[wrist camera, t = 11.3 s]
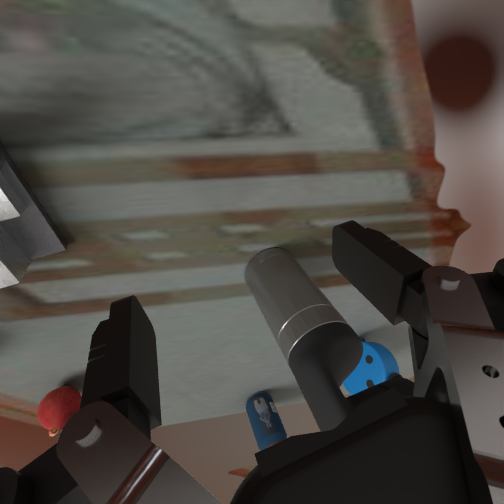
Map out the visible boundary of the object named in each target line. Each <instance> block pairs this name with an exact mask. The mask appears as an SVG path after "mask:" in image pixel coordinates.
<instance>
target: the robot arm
mask: <svg viewBox="0 0 504 504" xmlns="http://www.w3.org/2000/svg"><path fill="white" fill-rule="evenodd" d="M332 257H333V262H334V264H335V266H336V268H337V269H338V271H339V272H340V273H341V274H342V275H343V276H344V277H345V278H346V279H347V280H348V281H349V282H350V283H351V284H352V285H353V286H354V287H355V288H356V289H357V290H358V291H359V292H360V293H362V294H363V295H364V296H365V297H366V298H367V299H368V300H369V301H370V302H371V303H372V304H373V305H374V306H375V307H376V308H377V309H378V310H379V311H380V312H381V313H382V314H383V315H384V316H385V317H386V318H387V319H388V320H389V321H390V322H391V323H392V324H393V325H396V324H398V323H401V322H403V321H406V322H407V323H408V324H409V329H408V332H409V339H410V347H411V354H412V362H413V369H414V377H415V378H414V380H415V382H412V381H410V380H408V379H405V378H401V377H396V378H392V379H389V380H386V381H384V382H381V383H379V384H377V385H374V386H372V387H370V388H367V389H365V390H363V391H360V392H358V393H356V394H354V395H352V396H349V397H347V398H345V397H344V395H343V394H342V392H341V390H340V388H339V387H340V386H341V384H342V383H343V382H344V380H345V379H346V378H347V377H348V376H349V375H350V374H351V373H352V372H353V371H354V370H355V368H356V367H357V365H358V364H359V362H360V360H361V358H362V355H363V344H362V341H361V339H360V338H359V337H358V335H357V334H356V333H355V331H354V330H353V329H352V328H351V327H350V325H349V324H348V323H347V322H346V321H345V319H344V318H343V317H342V316H341V315H340V313H339V312H338V311H337V310H336V309H335V307H334V306H333V305H332V304H331V303H330V301H329V300H328V299H327V298H326V297H325V295H324V294H323V293H322V292H321V290H320V289H319V288H318V287H317V286H316V284H315V283H314V282H313V281H312V280H311V278H310V277H309V276H308V275H307V273H306V272H305V271H304V270H303V269H302V267H301V266H300V265H299V264H298V262H297V261H296V260H295V259H294V258H293V256H292V255H291V254H290V253H289V252H288V251H286V250H284V249H281V248H271V249H267V250H265V251H262V252H261V253H259V254H257V255H256V256H255V257H254V258H253V259H252V260H251V261H250V263H249V264H248V266H247V268H246V272H245V279H246V282H247V284H248V286H249V288H250V290H251V292H252V294H253V296H254V298H255V300H256V302H257V304H258V306H259V308H260V310H261V312H262V314H263V316H264V318H265V320H266V322H267V324H268V326H269V328H270V330H271V331H272V333H273V335H274V337H275V339H276V341H277V343H278V345H279V347H280V349H281V351H282V353H283V355H284V357H285V359H286V361H287V363H288V364H289V366H290V368H291V370H292V372H293V374H294V376H295V378H296V380H297V383H298V385H299V387H300V389H301V391H302V393H303V395H304V397H305V399H306V401H307V404H308V405H309V408H310V409H311V412H312V413H313V416H314V418H315V420H316V422H317V425H318V427H319V429H320V431H321V432H316V433H309V434H303V435H296V436H291V437H289V438H287V439H285V440H282V441H280V442H278V443H276V444H274V445H272V446H270V447H268V448H266V449H264V450H262V451H260V452H258V453H255V457H256V460H257V463H258V465H257V466H256V467H255V468H254V469H253V470H252V471H251V472H250V473H249V474H248V475H247V476H246V478H245V479H244V480H243V482H242V483H241V485H240V486H239V488H238V489H237V491H236V493H235V495H234V497H233V499H232V501H231V502H230V504H504V258H503V259H501V260H499V261H498V262H497V263H496V265H495V267H494V269H493V272H486V273H477V274H468V273H466V272H465V271H463V270H461V269H458V268H456V267H452V266H446V265H436V266H431V265H430V264H428V263H427V262H425V261H424V260H422V259H421V258H419V257H418V256H416V255H415V254H413V253H412V252H410V251H409V250H407V249H406V248H404V247H403V246H399V244H398V243H397V242H395V241H393V240H391V239H390V238H389V237H387V236H386V235H384V234H383V233H381V232H379V231H376V230H373V229H370V228H364V227H362V226H361V225H359V224H358V223H357V222H355V221H353V220H351V221H348V222H345V223H342V224H339V225H336V226H334V228H333V235H332ZM88 361H89V363H87V369H86V374H85V380H84V386H83V392H82V398H81V404H80V408H79V411H77V412H76V413H75V414H74V415H73V416H72V417H71V418H70V419H69V420H68V422H67V423H66V424H65V426H64V427H63V429H62V431H61V433H60V435H59V438H58V441H57V443H56V444H55V445H54V446H52V447H51V448H50V449H48V450H47V451H46V452H44V453H43V454H42V455H40V456H39V457H37V458H36V459H35V460H33V461H32V462H31V463H29V464H28V465H26V466H25V467H24V468H22V469H21V470H20V471H18V472H17V471H15V470H13V469H11V468H8V467H2V468H0V504H222V503H221V502H220V501H219V500H218V499H217V498H216V497H214V496H213V495H212V494H211V493H210V492H209V491H208V490H207V489H206V488H205V487H203V486H202V485H201V484H200V483H199V482H198V481H197V480H196V479H195V478H193V477H192V476H191V475H190V474H189V473H188V472H187V471H186V470H185V469H183V468H182V467H181V466H180V465H179V464H178V463H177V462H176V461H175V460H174V459H172V458H171V457H170V456H169V455H168V454H167V453H166V452H165V451H163V450H162V449H161V448H159V447H157V446H156V445H155V444H154V443H153V442H152V441H151V436H150V430H151V429H153V428H156V427H158V426H161V425H162V424H161V409H160V394H159V379H158V365H157V350H156V337H155V332H154V329H153V326H152V324H151V322H150V320H149V318H148V317H147V315H146V313H145V311H144V310H143V308H142V306H141V305H140V303H139V301H138V299H137V298H136V297H135V296H134V295H132V296H129V297H126V298H123V299H120V300H118V301H115V302H112V303H111V306H110V315H109V319H107V320H104V321H101V322H100V323H99V325H98V327H97V328H96V330H95V332H94V333H93V335H92V339H91V345H90V352H89V357H88Z"/></svg>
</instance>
